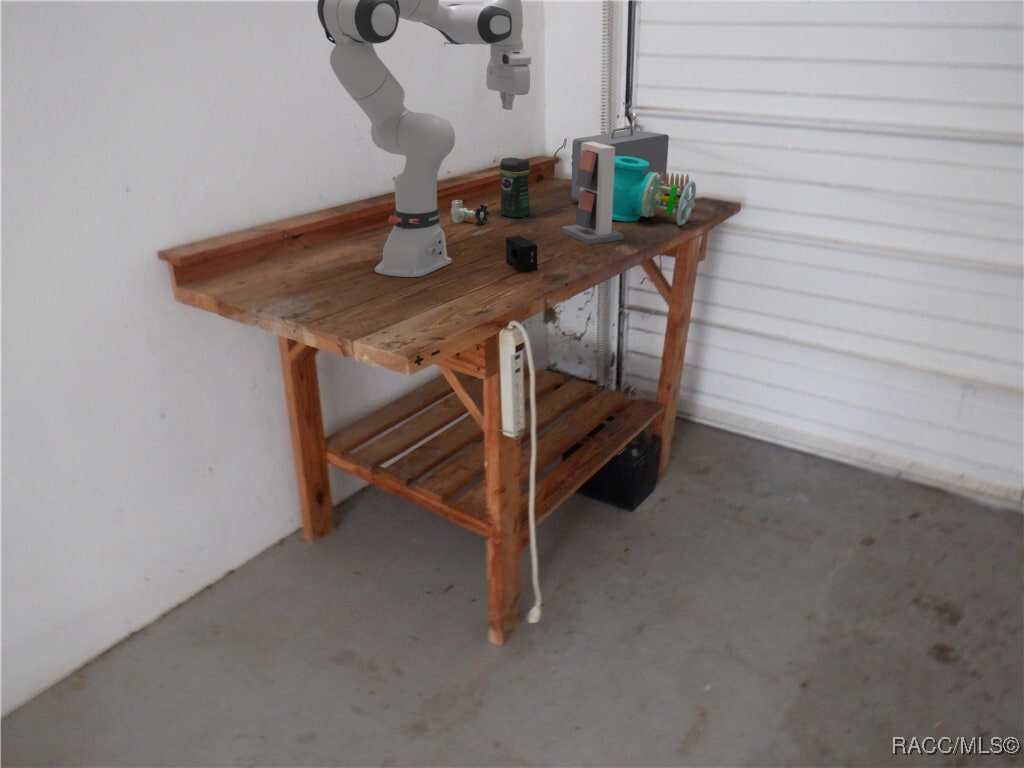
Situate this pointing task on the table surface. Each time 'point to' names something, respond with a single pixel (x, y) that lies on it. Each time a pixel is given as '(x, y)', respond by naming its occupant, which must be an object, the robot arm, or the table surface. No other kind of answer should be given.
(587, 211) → the lower rocker
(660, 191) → the ammunition clip
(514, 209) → the coffee jar
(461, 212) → the valve
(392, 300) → the table surface
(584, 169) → the upper rocker
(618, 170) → the valve
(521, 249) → the digital camera
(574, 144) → the vintage electronic device
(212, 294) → the table surface
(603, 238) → the tower
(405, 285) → the table surface
